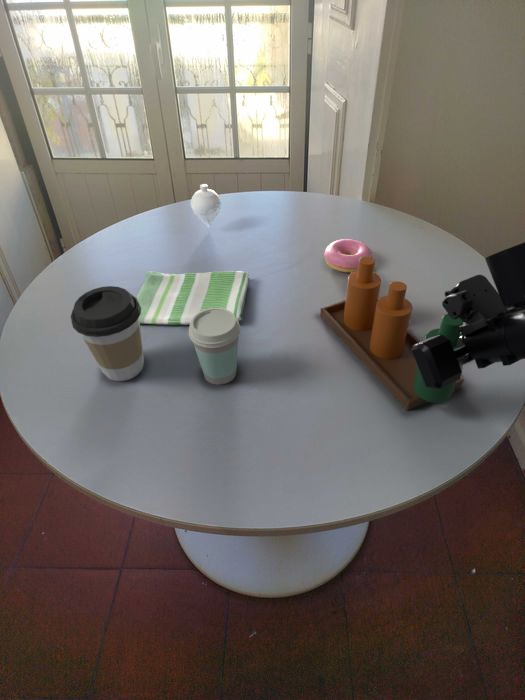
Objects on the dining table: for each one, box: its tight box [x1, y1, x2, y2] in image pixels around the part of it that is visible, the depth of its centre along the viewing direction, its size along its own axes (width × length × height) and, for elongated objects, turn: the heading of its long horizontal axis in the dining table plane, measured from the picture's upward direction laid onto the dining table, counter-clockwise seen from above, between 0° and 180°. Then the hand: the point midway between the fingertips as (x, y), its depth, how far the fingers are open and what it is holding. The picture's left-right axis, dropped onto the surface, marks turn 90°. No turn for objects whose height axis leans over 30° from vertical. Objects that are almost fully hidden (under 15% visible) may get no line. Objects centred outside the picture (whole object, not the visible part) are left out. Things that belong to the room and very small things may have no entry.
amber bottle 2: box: [370, 280, 413, 359], centre depth 82 cm, size 6×6×14 cm
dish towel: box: [135, 270, 250, 326], centre depth 100 cm, size 18×23×3 cm
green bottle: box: [413, 313, 464, 404], centre depth 70 cm, size 6×6×14 cm
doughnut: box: [323, 238, 373, 273], centre depth 109 cm, size 11×11×4 cm
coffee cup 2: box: [188, 308, 241, 386], centre depth 80 cm, size 8×8×12 cm
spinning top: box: [190, 183, 222, 230], centre depth 120 cm, size 8×8×12 cm
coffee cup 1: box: [70, 285, 145, 382], centre depth 81 cm, size 11×11×15 cm
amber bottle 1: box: [344, 256, 382, 331], centre depth 88 cm, size 6×6×14 cm
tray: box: [319, 299, 464, 412], centre depth 87 cm, size 28×11×2 cm, turn 25°
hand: (435, 350), depth 70 cm, fingers closed on green bottle, 6 cm apart
